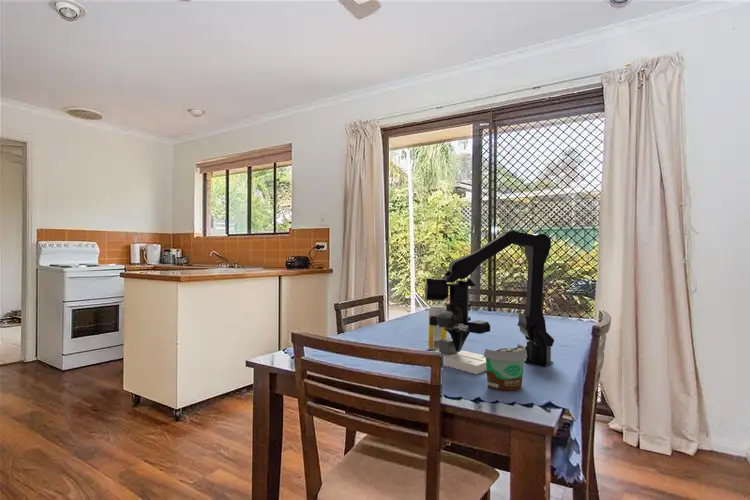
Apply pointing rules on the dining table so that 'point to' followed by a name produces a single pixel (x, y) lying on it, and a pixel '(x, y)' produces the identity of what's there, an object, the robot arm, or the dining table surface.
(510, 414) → the dining table surface
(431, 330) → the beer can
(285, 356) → the dining table surface
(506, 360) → the food container
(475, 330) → the robot arm
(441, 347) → the fader cap
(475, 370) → the fader console
